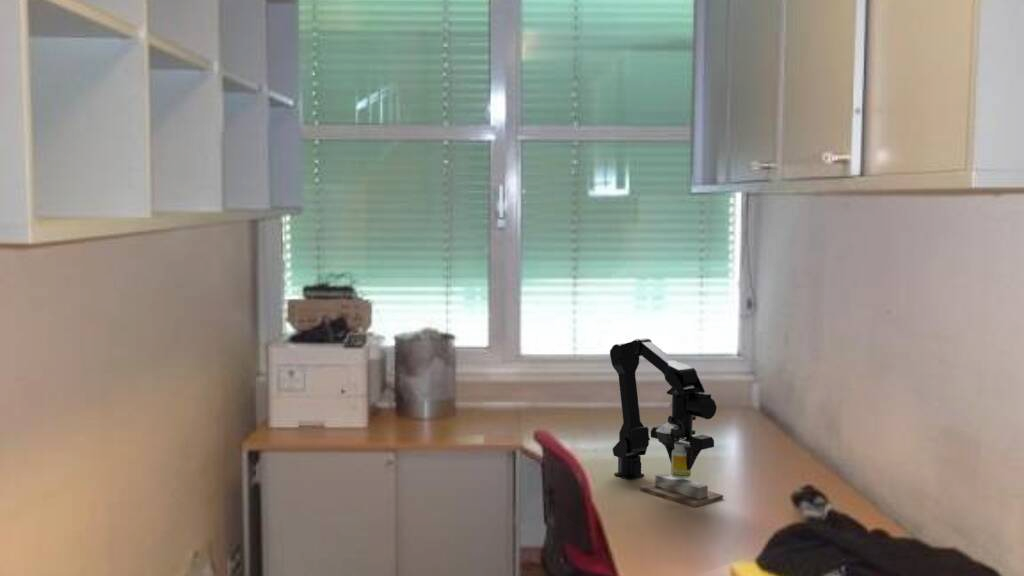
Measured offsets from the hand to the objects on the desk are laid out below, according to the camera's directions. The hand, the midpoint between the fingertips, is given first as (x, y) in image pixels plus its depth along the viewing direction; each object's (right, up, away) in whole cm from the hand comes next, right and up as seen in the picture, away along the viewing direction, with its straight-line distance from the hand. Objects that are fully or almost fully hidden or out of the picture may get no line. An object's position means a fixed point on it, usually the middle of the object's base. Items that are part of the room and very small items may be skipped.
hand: (681, 467), depth 279 cm
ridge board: (0, -8, +1) cm, 8 cm away
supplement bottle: (0, -3, 0) cm, 3 cm away
